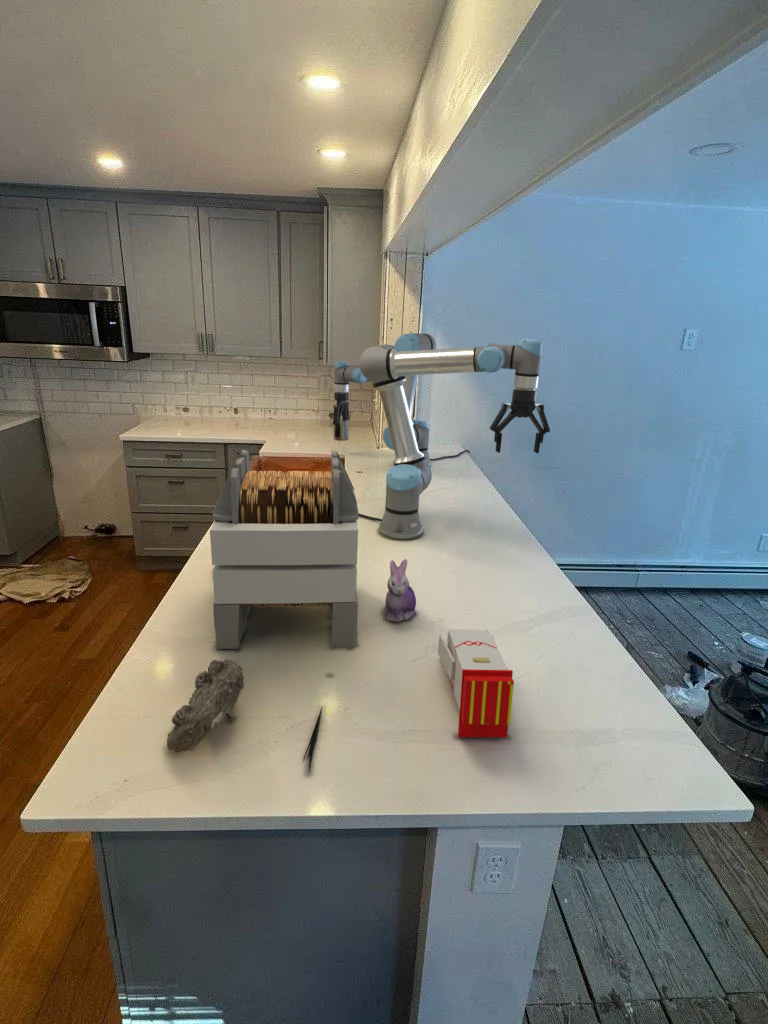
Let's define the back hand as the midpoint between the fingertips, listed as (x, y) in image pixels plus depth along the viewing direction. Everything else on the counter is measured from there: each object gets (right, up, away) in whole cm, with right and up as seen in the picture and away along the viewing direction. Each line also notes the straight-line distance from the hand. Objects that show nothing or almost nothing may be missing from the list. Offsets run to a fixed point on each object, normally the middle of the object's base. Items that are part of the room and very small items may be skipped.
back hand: (341, 435), depth 301 cm
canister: (0, -2, +1) cm, 2 cm away
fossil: (-10, -80, -193) cm, 209 cm away
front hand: (+68, -20, -108) cm, 129 cm away
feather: (+10, -80, -192) cm, 209 cm away
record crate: (-1, -67, -155) cm, 169 cm away
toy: (+41, -78, -182) cm, 203 cm away
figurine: (+27, -67, -154) cm, 170 cm away
